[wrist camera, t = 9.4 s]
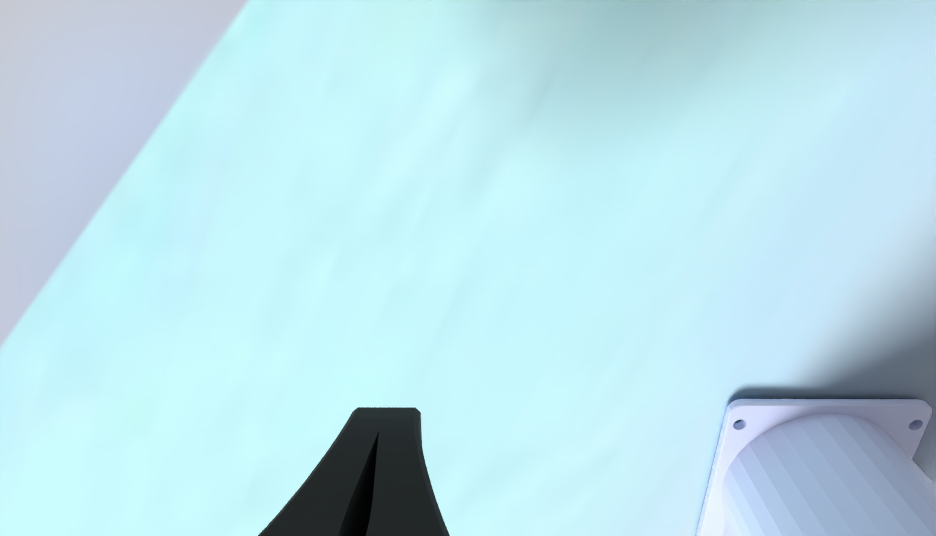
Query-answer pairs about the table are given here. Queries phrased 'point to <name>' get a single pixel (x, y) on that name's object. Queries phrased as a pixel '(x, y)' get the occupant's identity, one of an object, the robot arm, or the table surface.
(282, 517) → the robot arm
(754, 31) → the table surface
